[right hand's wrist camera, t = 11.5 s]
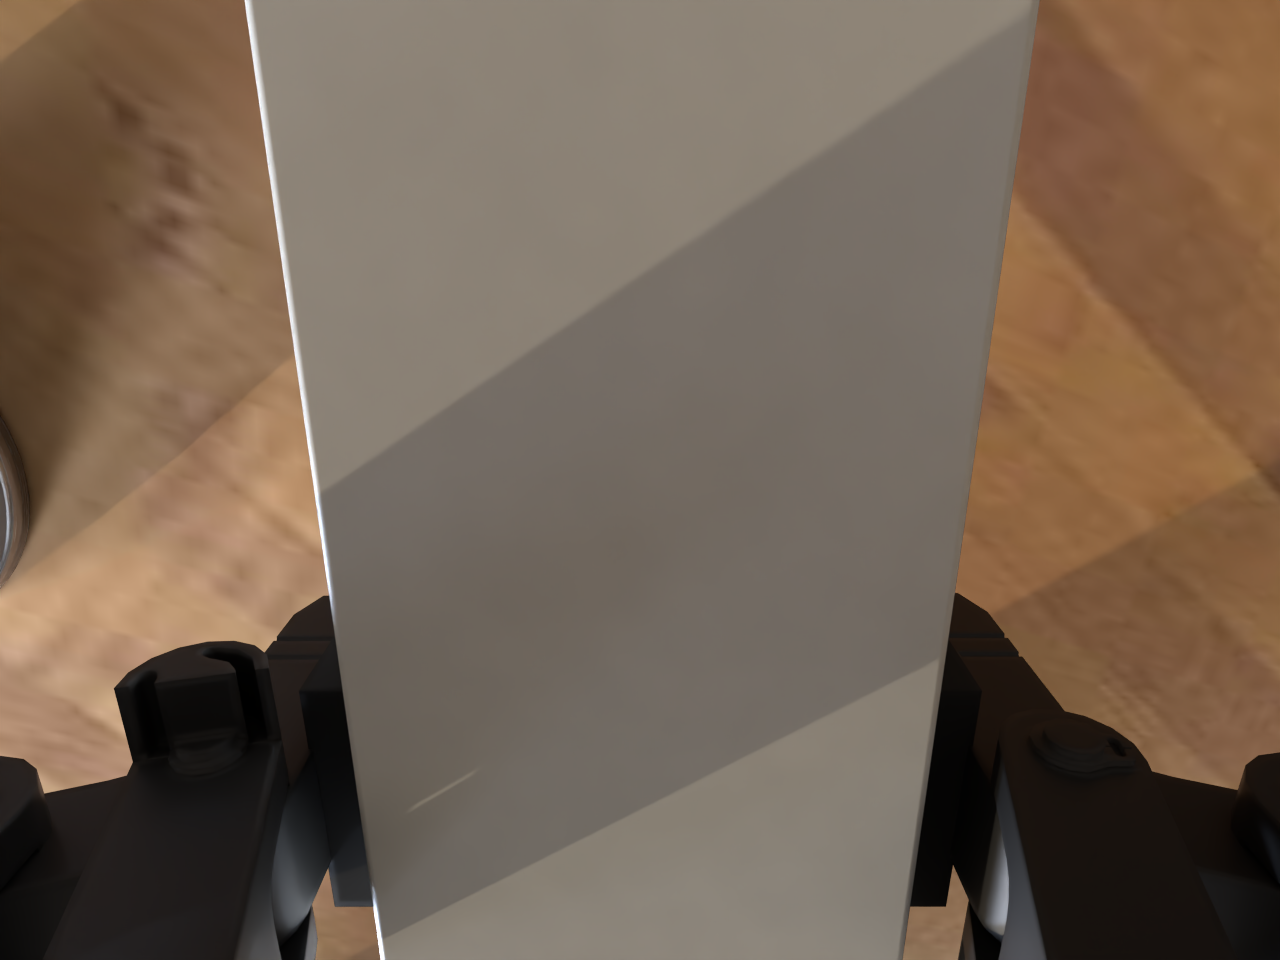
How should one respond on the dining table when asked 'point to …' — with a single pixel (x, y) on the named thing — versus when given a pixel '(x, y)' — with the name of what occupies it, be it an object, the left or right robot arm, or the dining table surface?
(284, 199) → the post
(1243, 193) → the dining table surface
